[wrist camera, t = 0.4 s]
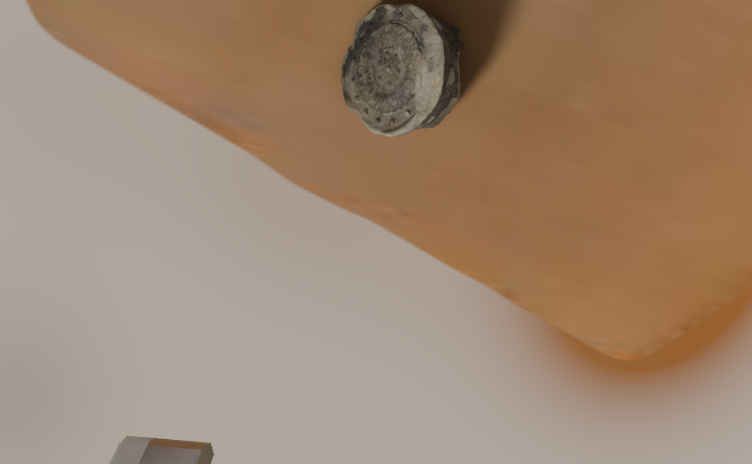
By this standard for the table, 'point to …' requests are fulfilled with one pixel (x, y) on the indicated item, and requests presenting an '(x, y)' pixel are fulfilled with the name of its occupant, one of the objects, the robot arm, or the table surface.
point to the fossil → (402, 69)
